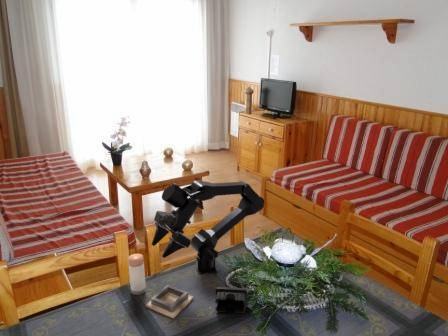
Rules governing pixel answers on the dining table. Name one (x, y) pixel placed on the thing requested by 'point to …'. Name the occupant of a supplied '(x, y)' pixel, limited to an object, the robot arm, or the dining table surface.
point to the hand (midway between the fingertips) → (157, 251)
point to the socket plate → (170, 301)
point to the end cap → (231, 301)
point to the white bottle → (137, 274)
